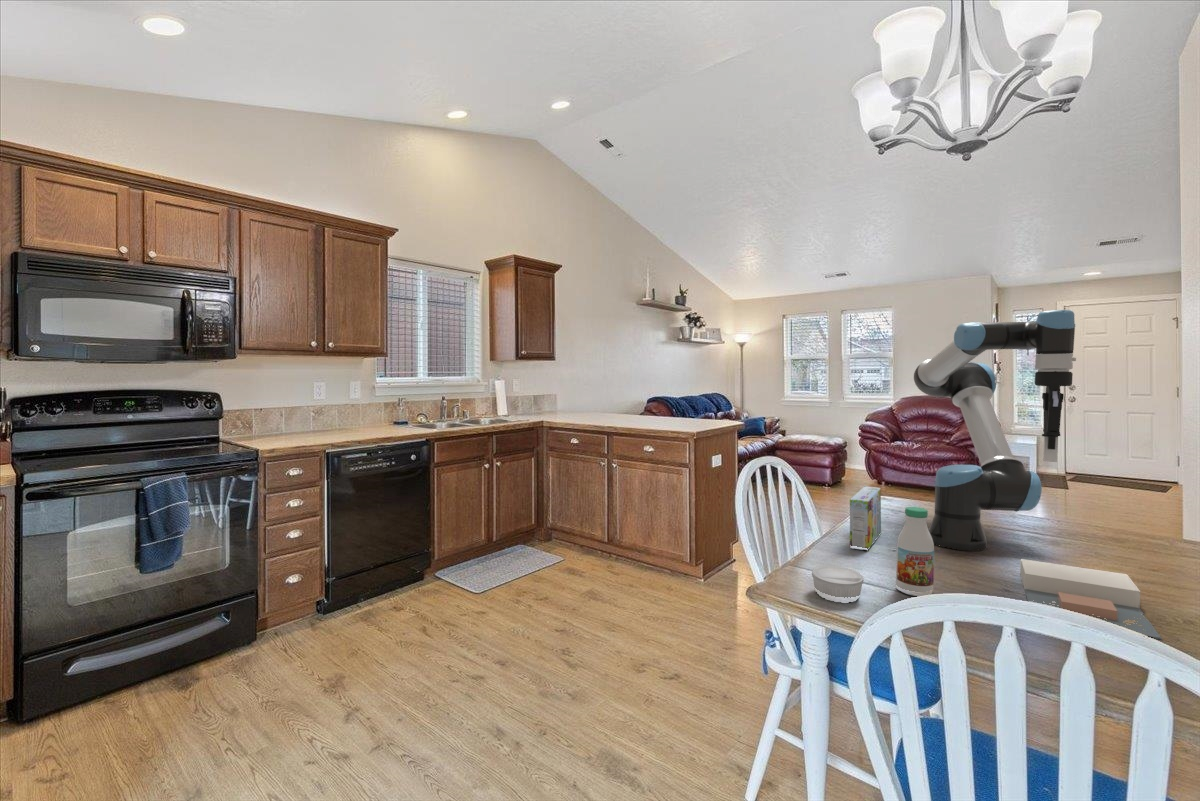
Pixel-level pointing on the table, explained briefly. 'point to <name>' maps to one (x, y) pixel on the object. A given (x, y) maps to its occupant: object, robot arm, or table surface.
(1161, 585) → the table surface
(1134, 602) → the plate
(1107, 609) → the tile
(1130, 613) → the mat
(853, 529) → the snack box
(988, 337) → the robot arm
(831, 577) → the ramekin
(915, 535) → the milk bottle
